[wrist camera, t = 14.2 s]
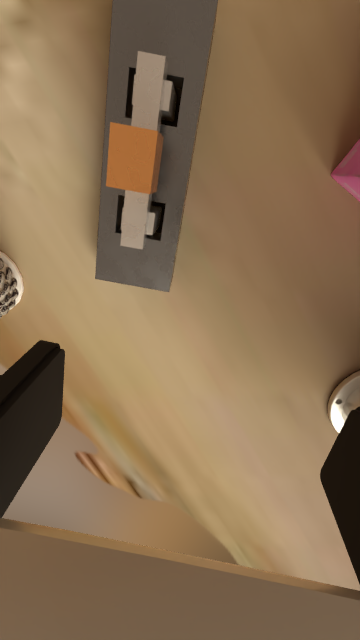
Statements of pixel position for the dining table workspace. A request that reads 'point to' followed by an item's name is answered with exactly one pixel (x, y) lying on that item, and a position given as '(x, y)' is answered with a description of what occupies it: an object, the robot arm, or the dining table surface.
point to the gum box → (350, 171)
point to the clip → (141, 149)
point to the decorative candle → (9, 284)
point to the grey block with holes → (178, 144)
